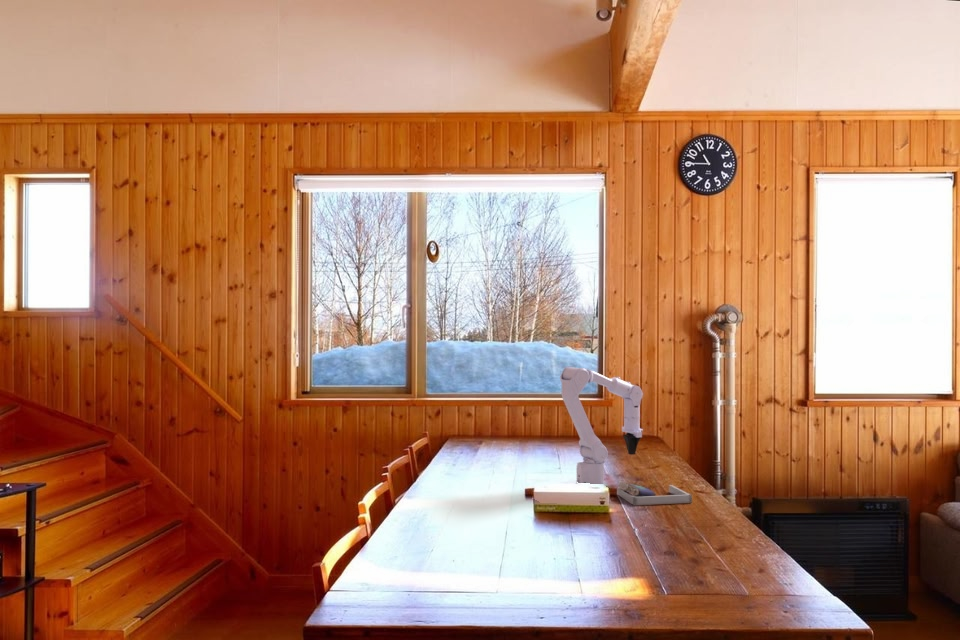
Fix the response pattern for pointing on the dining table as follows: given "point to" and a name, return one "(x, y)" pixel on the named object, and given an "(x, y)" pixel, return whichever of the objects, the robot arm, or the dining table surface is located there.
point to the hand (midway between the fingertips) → (631, 454)
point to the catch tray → (657, 497)
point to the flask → (636, 490)
